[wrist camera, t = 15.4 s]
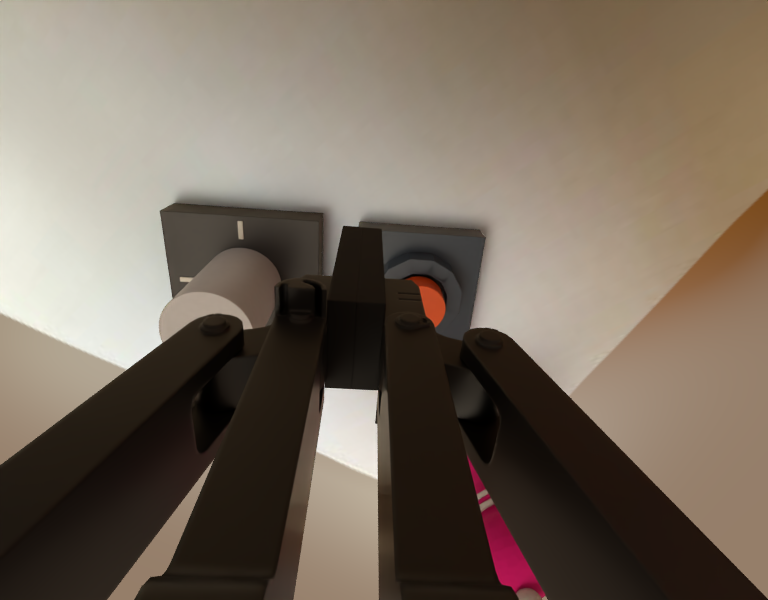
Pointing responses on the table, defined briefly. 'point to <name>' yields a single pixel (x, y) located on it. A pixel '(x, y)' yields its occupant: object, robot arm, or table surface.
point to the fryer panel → (240, 239)
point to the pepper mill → (505, 548)
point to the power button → (431, 298)
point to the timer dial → (225, 292)
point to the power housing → (437, 266)
